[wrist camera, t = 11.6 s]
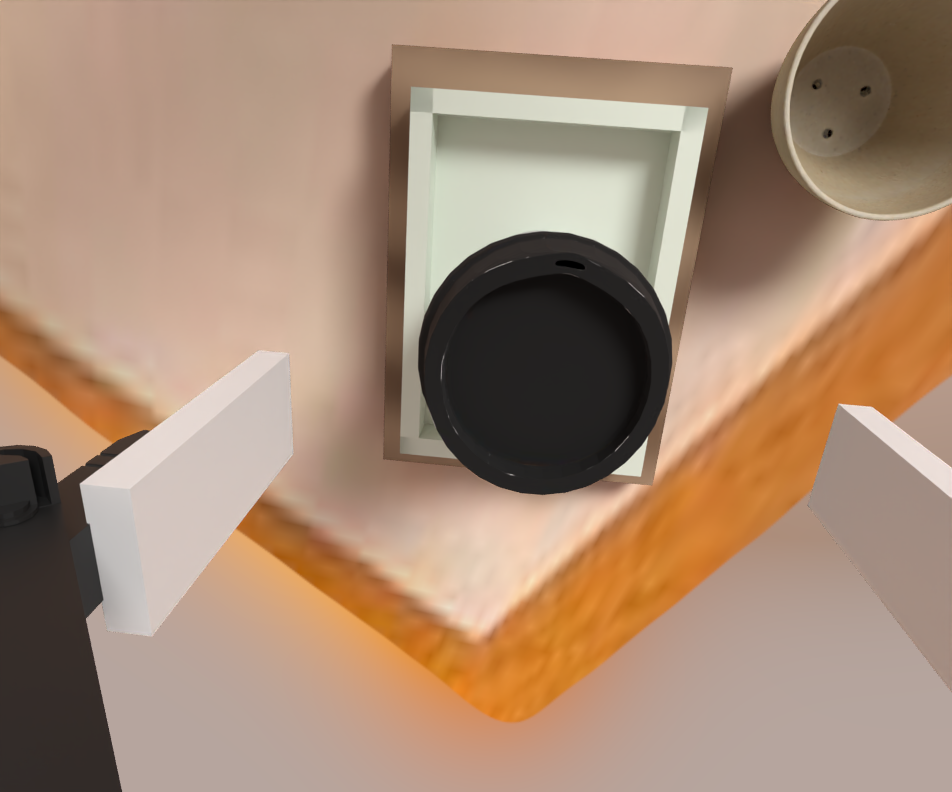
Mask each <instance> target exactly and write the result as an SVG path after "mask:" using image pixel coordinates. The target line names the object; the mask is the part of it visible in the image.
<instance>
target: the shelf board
mask: <svg viewBox="0 0 952 792" xmlns="http://www.w3.org/2000/svg"><path fill="white" fill-rule="evenodd" d="M732 69H733V68H729V67H715V66H700V65H685V64H670V63H656V62H641V61H626V60H612V59H597V58H582V57H568V56H553V55H538V54H524V53H509V52H494V51H479V50H465V49H450V48H435V47H421V46H406V45H392V66H391V115H390V164H389V212H388V261H387V310H386V358H385V407H384V456H383V459H387V460H397V461H408V462H418V463H428V464H438V465H448V466H459V467H465V466H464V465H463V464H462V463H461V462H460V461H459V460H458V459H453V458H443V457H433V456H422V455H412V454H402V453H400V428H401V395H402V363H403V330H404V298H405V265H406V232H407V200H408V167H409V134H410V102H411V87H423V88H437V89H452V90H466V91H480V92H494V93H508V94H522V95H536V96H550V97H564V98H578V99H592V100H606V101H621V102H635V103H649V104H663V105H677V106H691V107H705V108H708V114H707V119H706V125H705V130H704V136H703V141H702V146H701V152H700V157H699V163H698V168H697V174H696V179H695V185H694V190H693V195H692V201H691V206H690V212H689V217H688V223H687V228H686V234H685V239H684V244H683V250H682V255H681V261H680V266H679V272H678V277H677V283H676V288H675V293H674V299H673V304H672V310H671V315H670V321H669V329H670V333H671V337H672V362H673V364H672V369H671V375H670V381H669V386H668V390H667V394H666V398H665V403H664V406H663V408H662V410H661V413H660V415H659V418H658V420H657V422H656V425H655V426H654V428H653V429H652V431H651V433H650V434H649V436H648V440H647V446H646V451H645V457H644V462H643V468H642V473H641V477H638V476H627V475H617V474H610V475H609V476H607V477H605V478H603V479H601V481H611V482H622V483H632V484H642V485H653V480H654V475H655V469H656V464H657V459H658V454H659V449H660V443H661V438H662V433H663V428H664V423H665V417H666V412H667V407H668V402H669V397H670V391H671V386H672V381H673V376H674V371H675V365H676V360H677V355H678V350H679V344H680V339H681V334H682V329H683V324H684V318H685V313H686V308H687V303H688V298H689V292H690V287H691V282H692V277H693V272H694V266H695V261H696V256H697V251H698V246H699V240H700V235H701V230H702V225H703V220H704V214H705V209H706V204H707V199H708V194H709V188H710V183H711V178H712V173H713V168H714V162H715V157H716V152H717V147H718V141H719V136H720V131H721V126H722V121H723V115H724V110H725V105H726V100H727V95H728V89H729V84H730V79H731V74H732Z"/></svg>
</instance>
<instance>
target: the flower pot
mask: <svg viewBox="0 0 952 792" xmlns="http://www.w3.org/2000/svg"><path fill="white" fill-rule="evenodd" d="M812 85H815V86H816V88H817V89H814V88H813V87H812ZM864 87H867V88H866V90H865V91H861V89H862V88H864ZM771 127H772V133H773V138H774V142H775V145H776V148H777V150H778V153H779V155H780V157H781V159H782V161H783V163H784V164H785V166H786V168H787V169H788V170H789V172H790V173H791V175H792V176H793V177H794V178H795V179H796V180H797V182H798V183H799V184H800V185H801V186H802V187H803V188H805V189H806V190H807V191H808V192H809V193H811V194H812V195H813V196H814V197H816V198H817V199H819V200H820V201H822V202H824V203H825V204H827V205H829V206H831V207H833V208H835V209H837V210H839V211H842V212H844V213H846V214H849V215H852V216H855V217H859V218H864V219H870V220H883V221H888V220H902V219H908V218H913V217H917V216H921V215H925V214H928V213H931V212H934V211H936V210H939V209H941V208H943V207H946V206H948V205H950V204H952V0H828V1H827V2H826V3H825V4H824V5H823V6H822V7H821V8H820V9H819V10H818V11H817V13H816V14H815V15H814V16H813V17H812V18H811V20H810V21H809V22H808V23H807V25H806V26H805V27H804V29H803V30H802V31H801V33H800V34H799V36H798V37H797V39H796V40H795V42H794V43H793V45H792V47H791V48H790V50H789V52H788V54H787V56H786V58H785V60H784V62H783V64H782V66H781V69H780V71H779V74H778V77H777V80H776V83H775V87H774V91H773V96H772V103H771ZM829 130H831V136H830V137H828V132H829Z"/></svg>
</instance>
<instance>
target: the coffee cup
mask: <svg viewBox="0 0 952 792" xmlns="http://www.w3.org/2000/svg"><path fill="white" fill-rule="evenodd" d="M672 364H673V362H672V337H671V333H670V329H669V325H668V320H667V316H666V313H665V311H664V308H663V306H662V304H661V302H660V300H659V298H658V296H657V294H656V292H655V290H654V288H653V287H652V286H651V284H650V283H649V282H648V281H647V279H646V278H645V277H644V276H643V274H642V273H641V272H640V271H639V269H638V268H637V267H635V266H634V265H633V264H632V263H630V262H629V261H628V260H627V259H626V258H624V257H623V256H622V255H621V254H619V253H618V252H616V251H615V250H613V249H611V248H609V247H607V246H605V245H603V244H601V243H599V242H597V241H595V240H593V239H589V238H585V237H582V236H578V235H575V234H571V233H564V232H550V231H539V230H536V231H528V232H523V233H520V234H517V235H513V236H511V237H508V238H505V239H502V240H499V241H496V242H493V243H490V244H489V245H487V246H485V247H484V248H482V249H480V250H478V251H477V252H475V253H473V254H471V255H470V256H468V257H467V258H466V259H465V260H464V261H463V262H462V263H460V264H459V265H458V266H457V267H456V268H455V269H454V270H453V271H452V272H450V273H449V275H448V276H447V277H446V279H445V280H444V282H443V283H442V284H441V286H440V287H439V288H438V290H437V291H436V292H435V294H434V296H433V298H432V300H431V302H430V305H429V307H428V309H427V311H426V313H425V315H424V319H423V323H422V327H421V332H420V336H419V345H418V372H419V377H420V383H421V389H422V393H423V396H424V399H425V401H426V404H427V407H428V409H429V412H430V414H431V417H432V420H433V422H434V425H435V428H436V430H437V431H438V433H439V435H440V436H441V438H442V440H443V441H444V443H445V445H446V446H447V448H448V449H449V450H450V451H451V452H452V453H453V455H454V456H455V457H456V458H457V459H458V460H459V461H460V462H461V463H462V464H463V465H464V466H465V467H467V468H468V469H469V470H471V471H472V472H473V473H475V474H476V475H477V476H479V477H480V478H482V479H484V480H486V481H488V482H490V483H492V484H494V485H496V486H498V487H501V488H505V489H508V490H512V491H516V492H519V493H528V494H540V495H545V494H555V493H565V492H569V491H572V490H576V489H579V488H583V487H586V486H589V485H591V484H593V483H595V482H597V481H599V480H601V479H603V478H605V477H607V476H609V475H610V474H611V473H613V472H614V471H615V470H617V469H618V468H619V467H621V466H622V465H623V464H625V463H626V462H627V461H628V460H629V459H630V458H631V457H632V456H633V455H634V453H635V452H636V451H637V450H638V449H639V448H640V447H641V446H642V445H643V443H644V442H645V440H646V439H647V437H648V436H649V434H650V433H651V431H652V429H653V428H654V426H655V425H656V422H657V420H658V418H659V415H660V413H661V410H662V408H663V406H664V403H665V398H666V394H667V390H668V386H669V381H670V375H671V369H672Z"/></svg>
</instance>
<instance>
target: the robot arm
mask: <svg viewBox="0 0 952 792" xmlns="http://www.w3.org/2000/svg"><path fill="white" fill-rule="evenodd" d="M292 455H293V432H292V408H291V384H290V360H289V353H282V352H271V351H261V350H258V351H257V352H256V353H254V354H253V355H252V356H250V357H249V358H248V359H246V360H245V361H244V362H242V363H241V364H240V365H238V366H237V367H236V368H234V369H233V370H232V371H230V372H229V373H228V374H226V375H225V376H223V377H222V378H221V379H219V380H218V381H217V382H215V383H214V384H213V385H211V386H210V387H209V388H207V389H206V390H205V391H203V392H202V393H201V394H199V395H198V396H197V397H195V398H194V399H193V400H191V401H190V402H189V403H187V404H186V405H185V406H183V407H182V408H181V409H179V410H178V411H177V412H175V413H174V414H173V415H171V416H170V417H169V418H167V419H166V420H165V421H163V422H162V423H161V424H159V425H158V426H157V427H155V428H154V429H153V430H151V431H148V430H143V431H140V432H138V433H135V434H132V435H130V436H127V437H125V438H122V439H120V440H118V441H116V442H115V443H113V444H112V445H111V446H109V447H108V448H107V449H105V450H104V451H102V452H101V454H100V455H97V456H95V457H94V458H92V459H91V460H90V461H88V462H87V463H86V465H85V466H81V467H80V468H79V469H77V470H76V471H74V472H73V473H71V474H70V475H68V476H67V477H66V478H64V479H63V480H61V481H60V482H59V483H57V480H56V475H55V469H54V464H53V459H52V455H51V454H50V453H49V452H48V451H47V450H46V449H43V448H39V447H36V446H25V445H14V446H5V447H0V792H122V789H121V785H120V780H119V775H118V771H117V766H116V762H115V756H114V751H113V747H112V742H111V737H110V732H109V728H108V723H107V718H106V713H105V709H104V704H103V699H102V694H101V690H100V685H99V680H98V675H97V671H96V666H95V661H94V656H93V652H92V647H91V642H90V638H89V633H88V628H87V623H86V618H87V617H88V616H89V615H90V614H91V613H92V611H94V609H95V608H96V607H97V606H98V605H99V604H100V603H101V602H102V608H103V613H104V619H105V623H106V629H107V631H109V632H118V633H127V634H136V635H144V636H153V635H154V633H155V632H156V631H157V630H158V628H159V627H160V626H161V624H162V623H163V622H164V620H165V619H166V618H167V616H168V615H169V614H170V613H171V611H172V610H173V609H174V608H175V606H176V605H177V604H178V602H179V601H180V600H181V599H182V597H183V596H184V595H185V593H186V592H187V591H188V589H189V588H190V587H191V586H192V584H193V583H194V582H195V580H196V579H197V578H198V576H199V575H200V574H201V573H202V571H203V570H204V569H205V567H206V566H207V565H208V564H209V562H210V561H211V560H212V558H213V557H214V556H215V554H216V553H217V552H218V551H219V549H220V548H221V547H222V546H223V544H224V543H225V542H226V540H227V539H228V538H229V536H230V535H231V534H232V533H233V531H234V530H235V529H236V527H237V526H238V525H239V524H240V522H241V521H242V520H243V518H244V517H245V516H246V515H247V513H248V512H249V511H250V509H251V508H252V507H253V505H254V504H255V503H256V502H257V500H258V499H259V498H260V496H261V495H262V494H263V493H264V491H265V490H266V489H267V487H268V486H269V485H270V483H271V482H272V481H273V480H274V478H275V477H276V476H277V474H278V473H279V472H280V471H281V469H282V468H283V467H284V465H285V464H286V463H287V462H288V460H289V459H290V458H291V456H292ZM808 507H809V508H810V509H811V511H812V512H813V513H814V515H815V516H816V517H817V518H818V520H819V521H820V522H821V523H822V525H823V526H824V527H825V529H826V530H827V531H828V533H829V534H830V535H831V537H832V538H833V539H834V540H835V542H836V543H837V544H838V545H839V547H840V548H841V550H842V551H843V552H844V553H845V554H846V556H847V557H848V558H849V560H850V561H851V562H852V564H853V565H854V566H855V568H856V569H857V570H858V571H859V573H860V574H861V575H862V577H863V578H864V579H865V581H866V582H867V583H868V584H869V586H870V587H871V588H872V590H873V591H874V592H875V593H876V595H877V596H878V597H879V599H880V600H881V601H882V603H883V604H884V605H885V606H886V608H887V609H888V610H889V612H890V613H891V614H892V616H893V617H894V618H895V619H896V621H897V622H898V623H899V624H900V626H901V627H902V629H903V630H904V631H905V632H906V634H907V635H908V636H909V638H910V639H911V640H912V641H913V643H914V644H915V645H916V647H917V648H918V649H919V650H920V652H921V653H922V654H923V656H924V657H925V658H926V660H927V661H928V662H929V663H930V665H931V666H932V667H933V669H934V670H935V671H936V673H937V674H938V675H939V676H940V677H941V679H942V680H943V682H944V683H945V684H946V686H947V687H948V688H949V689H950V691H951V692H952V468H951V467H950V466H949V465H947V464H946V463H945V462H943V461H942V460H941V459H940V458H938V457H937V456H936V455H934V454H933V453H932V452H930V451H929V450H928V449H926V448H925V447H924V446H922V445H921V444H920V443H919V442H917V441H916V440H915V439H913V438H912V437H911V436H909V435H908V434H907V433H905V432H904V431H903V430H901V429H900V428H899V427H898V426H896V425H895V424H894V423H892V422H891V421H890V420H888V419H887V418H886V417H884V416H883V415H882V414H880V413H879V412H878V411H877V410H875V409H874V408H873V407H867V406H856V405H845V404H838V407H837V410H836V414H835V417H834V420H833V423H832V427H831V430H830V433H829V437H828V440H827V443H826V446H825V450H824V453H823V456H822V460H821V463H820V466H819V469H818V473H817V476H816V479H815V483H814V486H813V489H812V492H811V496H810V499H809V502H808Z"/></svg>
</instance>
